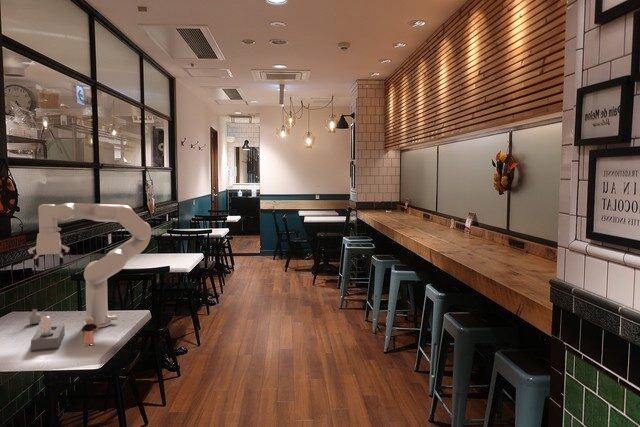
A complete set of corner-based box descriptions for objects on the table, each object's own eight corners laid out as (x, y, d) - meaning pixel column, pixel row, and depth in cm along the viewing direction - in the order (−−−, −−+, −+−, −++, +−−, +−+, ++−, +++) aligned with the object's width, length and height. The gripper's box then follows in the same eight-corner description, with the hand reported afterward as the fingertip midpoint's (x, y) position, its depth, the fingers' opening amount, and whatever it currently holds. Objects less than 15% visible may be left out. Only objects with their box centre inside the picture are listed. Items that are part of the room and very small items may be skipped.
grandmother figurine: (84, 348, 210) (83, 318, 209) (79, 346, 212) (78, 317, 211) (100, 343, 216) (100, 314, 215) (95, 341, 218) (94, 313, 217)
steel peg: (52, 342, 213) (51, 315, 212) (51, 345, 210) (50, 317, 209) (42, 343, 212) (41, 316, 211) (41, 346, 208) (40, 318, 208)
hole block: (64, 334, 226) (64, 324, 226) (58, 349, 208) (58, 337, 207) (40, 337, 223) (39, 326, 223) (31, 352, 204) (30, 340, 204)
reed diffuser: (43, 324, 241) (41, 284, 240) (26, 327, 237) (25, 286, 235) (38, 320, 249) (36, 281, 247) (22, 322, 244) (21, 283, 243)
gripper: (69, 229, 238) (70, 264, 239) (28, 230, 232) (30, 266, 233) (67, 230, 231) (69, 266, 232) (25, 231, 225) (27, 268, 226)
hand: (49, 266), depth 233 cm, fingers open, 9 cm apart
